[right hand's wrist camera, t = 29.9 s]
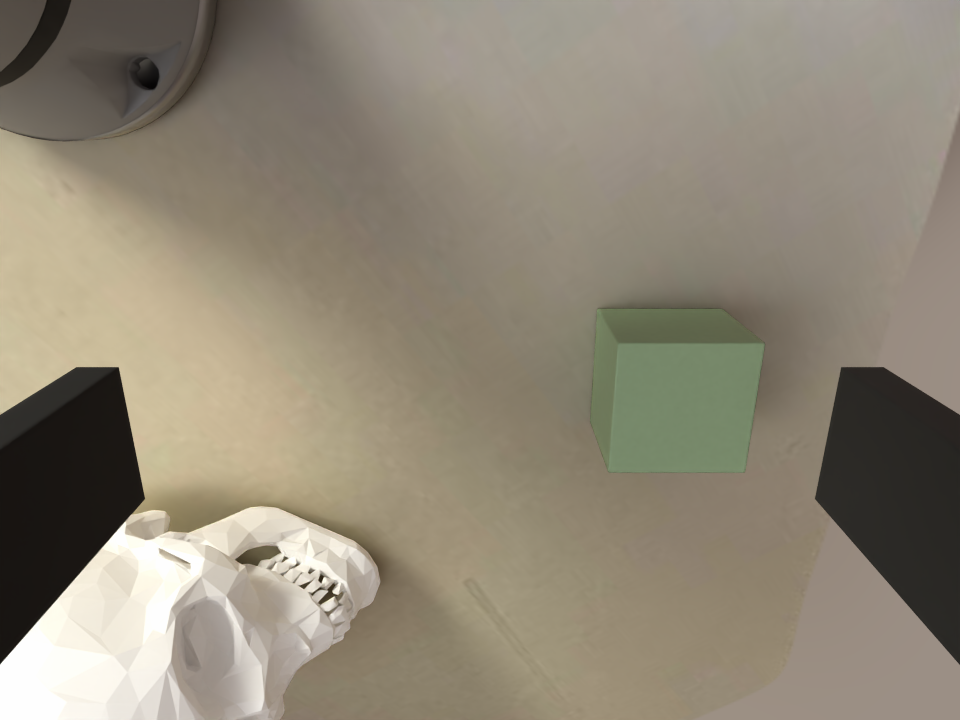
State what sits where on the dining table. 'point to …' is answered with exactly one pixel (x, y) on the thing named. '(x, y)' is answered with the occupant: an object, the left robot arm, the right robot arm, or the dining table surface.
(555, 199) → the dining table surface
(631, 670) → the dining table surface
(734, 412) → the sage green cube
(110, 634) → the skull
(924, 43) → the dining table surface
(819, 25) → the dining table surface
